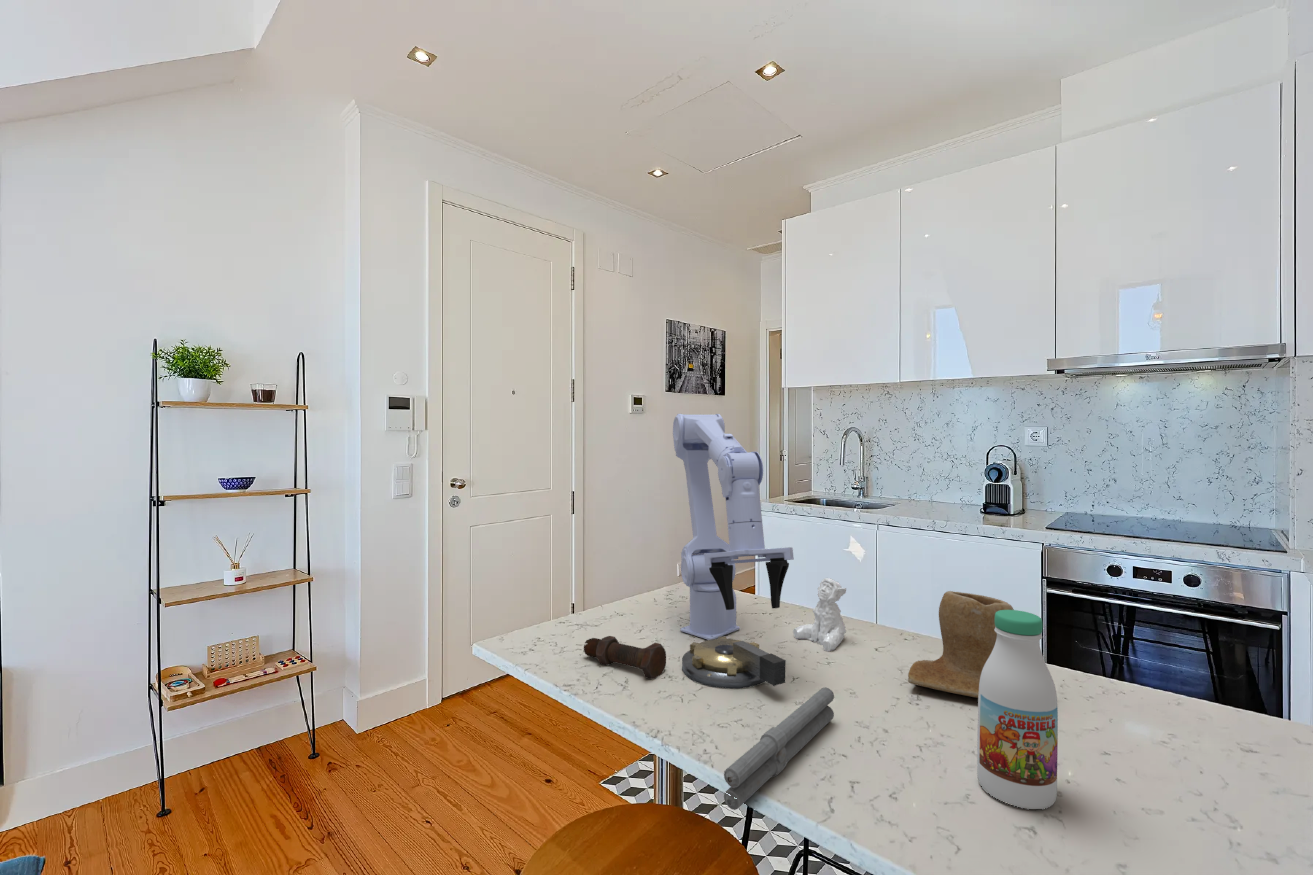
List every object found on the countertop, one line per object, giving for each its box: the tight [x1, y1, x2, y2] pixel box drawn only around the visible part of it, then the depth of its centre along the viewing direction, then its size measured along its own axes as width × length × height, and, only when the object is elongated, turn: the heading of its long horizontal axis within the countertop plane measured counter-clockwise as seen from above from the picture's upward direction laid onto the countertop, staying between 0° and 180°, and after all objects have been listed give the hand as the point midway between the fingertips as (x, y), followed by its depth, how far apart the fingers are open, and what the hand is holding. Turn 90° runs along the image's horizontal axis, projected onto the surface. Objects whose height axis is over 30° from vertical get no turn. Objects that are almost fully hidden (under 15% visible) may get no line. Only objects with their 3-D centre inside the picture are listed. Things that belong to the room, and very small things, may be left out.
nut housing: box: [681, 649, 767, 690], centre depth 102 cm, size 15×15×2 cm
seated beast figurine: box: [792, 577, 847, 652], centre depth 115 cm, size 10×9×12 cm
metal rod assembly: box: [723, 686, 835, 811], centre depth 74 cm, size 26×3×5 cm, turn 141°
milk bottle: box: [976, 609, 1059, 810], centre depth 68 cm, size 8×8×20 cm
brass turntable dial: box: [689, 636, 787, 687], centre depth 99 cm, size 19×13×4 cm
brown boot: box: [907, 590, 1015, 699], centre depth 94 cm, size 15×12×15 cm
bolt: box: [583, 635, 667, 680], centre depth 103 cm, size 6×5×15 cm
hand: (752, 608), depth 97 cm, fingers open, 7 cm apart
